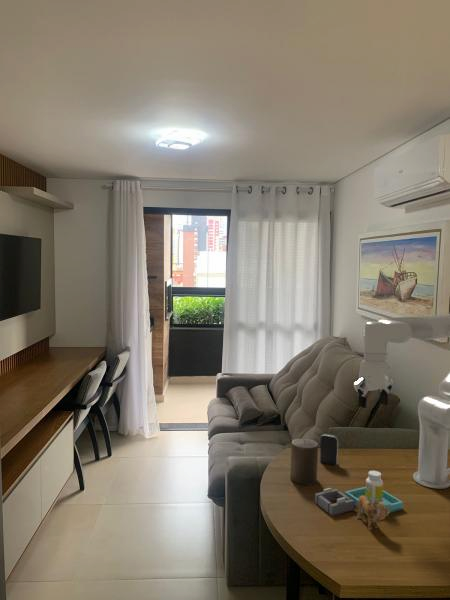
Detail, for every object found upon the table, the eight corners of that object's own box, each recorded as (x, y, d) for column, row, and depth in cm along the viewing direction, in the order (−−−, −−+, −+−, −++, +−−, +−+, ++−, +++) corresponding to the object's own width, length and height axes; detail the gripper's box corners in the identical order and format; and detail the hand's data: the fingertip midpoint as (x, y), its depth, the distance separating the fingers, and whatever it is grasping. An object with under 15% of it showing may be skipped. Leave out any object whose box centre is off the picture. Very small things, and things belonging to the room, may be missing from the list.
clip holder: (335, 497, 152) (336, 485, 152) (353, 509, 144) (354, 497, 144) (314, 502, 148) (315, 490, 148) (331, 515, 140) (332, 502, 140)
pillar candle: (311, 487, 158) (313, 446, 158) (286, 480, 163) (287, 440, 163) (320, 477, 167) (321, 438, 166) (295, 471, 172) (297, 432, 171)
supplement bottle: (383, 500, 150) (384, 471, 149) (381, 507, 145) (382, 478, 144) (366, 496, 152) (367, 468, 151) (364, 503, 147) (365, 474, 146)
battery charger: (339, 462, 180) (339, 434, 179) (336, 466, 177) (337, 437, 176) (322, 458, 183) (322, 431, 183) (319, 462, 180) (320, 434, 179)
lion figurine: (391, 533, 131) (392, 504, 131) (376, 537, 129) (378, 507, 129) (359, 508, 145) (360, 481, 144) (345, 511, 143) (346, 484, 143)
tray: (373, 491, 157) (374, 484, 157) (402, 509, 145) (403, 502, 145) (344, 498, 151) (344, 491, 151) (372, 517, 139) (372, 510, 139)
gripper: (385, 353, 162) (383, 400, 163) (348, 356, 155) (346, 405, 156) (401, 357, 155) (399, 405, 156) (363, 360, 148) (361, 411, 149)
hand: (373, 405), depth 156 cm, fingers open, 9 cm apart
